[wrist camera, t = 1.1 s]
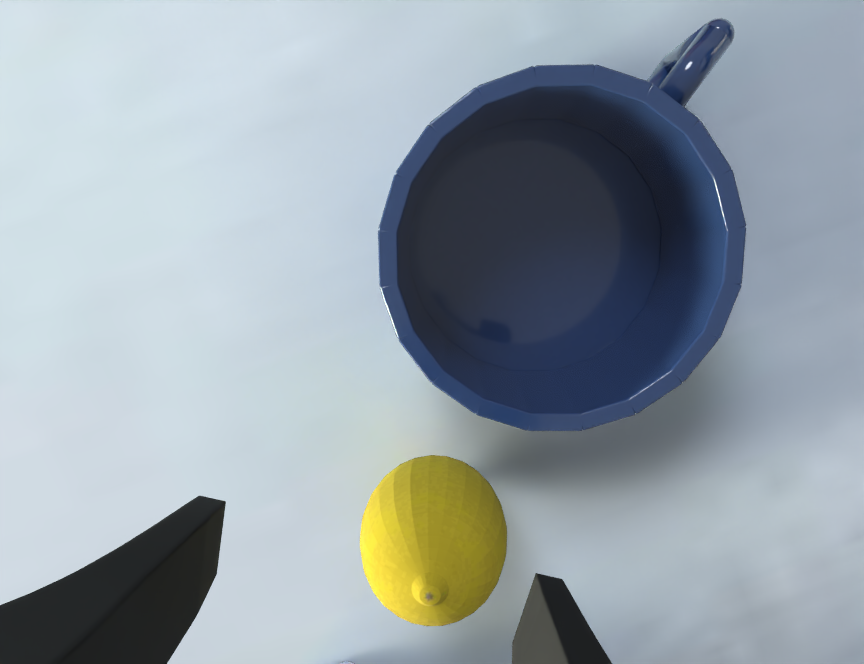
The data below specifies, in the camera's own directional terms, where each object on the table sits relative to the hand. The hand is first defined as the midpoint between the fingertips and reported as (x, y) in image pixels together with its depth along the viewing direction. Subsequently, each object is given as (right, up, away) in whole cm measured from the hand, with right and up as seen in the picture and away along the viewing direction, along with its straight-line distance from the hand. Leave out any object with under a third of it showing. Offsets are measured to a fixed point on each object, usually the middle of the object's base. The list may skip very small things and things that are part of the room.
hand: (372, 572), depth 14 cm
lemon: (+2, -2, +14) cm, 14 cm away
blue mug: (+6, +10, +11) cm, 16 cm away
